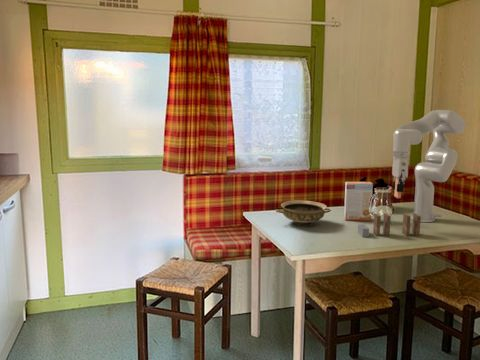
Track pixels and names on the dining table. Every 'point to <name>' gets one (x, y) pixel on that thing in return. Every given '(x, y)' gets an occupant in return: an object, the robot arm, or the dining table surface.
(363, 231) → the end block
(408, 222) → the walnut domino
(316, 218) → the ceramic bowl
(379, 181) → the coal bowl
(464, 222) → the dining table surface
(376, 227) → the walnut domino
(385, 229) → the walnut domino
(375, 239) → the dining table surface
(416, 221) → the walnut domino
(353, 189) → the cracker box
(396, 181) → the terracotta domino
